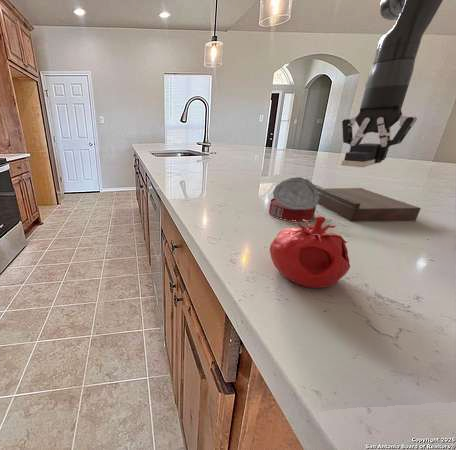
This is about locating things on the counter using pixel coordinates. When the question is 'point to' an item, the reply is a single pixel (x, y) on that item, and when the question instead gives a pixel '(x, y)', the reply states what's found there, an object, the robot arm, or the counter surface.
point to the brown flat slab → (365, 205)
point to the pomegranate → (310, 254)
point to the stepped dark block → (361, 155)
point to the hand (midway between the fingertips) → (364, 161)
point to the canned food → (294, 200)
